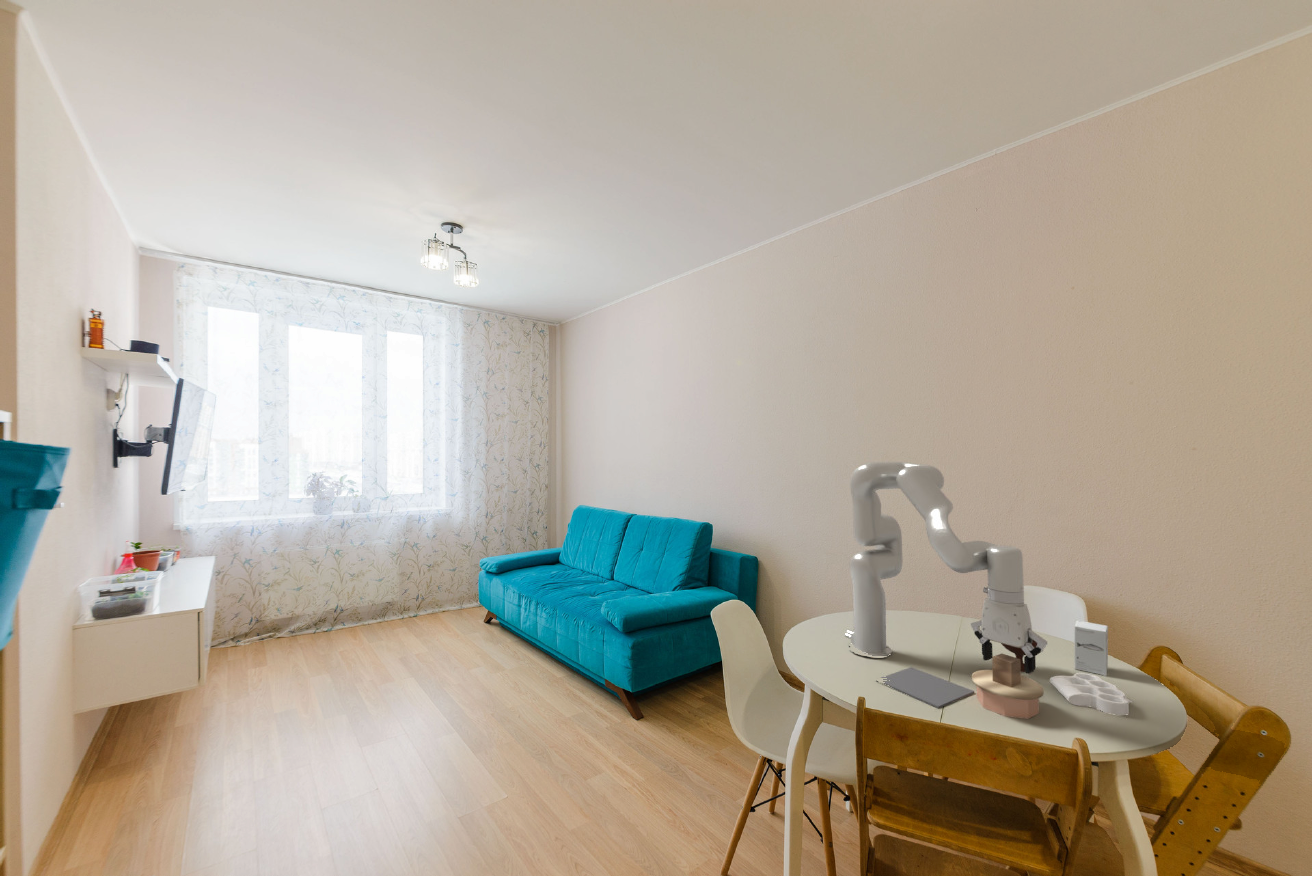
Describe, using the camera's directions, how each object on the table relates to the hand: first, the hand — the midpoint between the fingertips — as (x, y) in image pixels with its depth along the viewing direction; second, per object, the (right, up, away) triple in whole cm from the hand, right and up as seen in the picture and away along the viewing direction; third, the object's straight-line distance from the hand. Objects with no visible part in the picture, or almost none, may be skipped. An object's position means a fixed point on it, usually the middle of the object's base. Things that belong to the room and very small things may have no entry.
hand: (1008, 665), depth 134 cm
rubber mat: (-16, -10, +11) cm, 22 cm away
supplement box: (+38, -10, +22) cm, 45 cm away
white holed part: (+24, -11, +4) cm, 27 cm away
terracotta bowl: (0, -10, 0) cm, 10 cm away
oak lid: (0, -5, 0) cm, 5 cm away
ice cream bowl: (+18, -11, +23) cm, 31 cm away
